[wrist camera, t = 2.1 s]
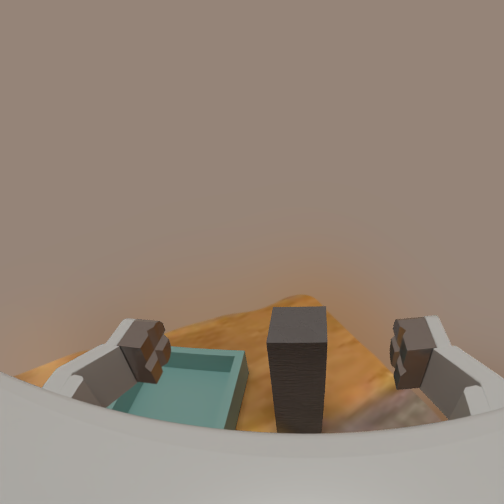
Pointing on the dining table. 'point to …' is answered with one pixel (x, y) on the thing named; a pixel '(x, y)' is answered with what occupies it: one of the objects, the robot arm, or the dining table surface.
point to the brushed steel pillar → (298, 367)
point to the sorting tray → (192, 389)
